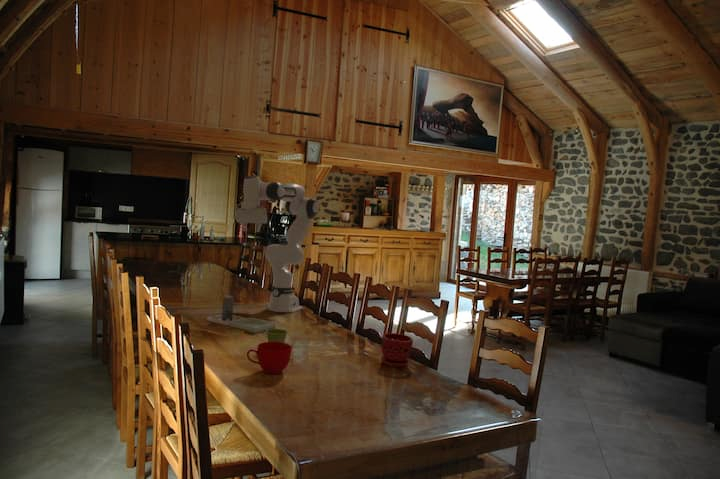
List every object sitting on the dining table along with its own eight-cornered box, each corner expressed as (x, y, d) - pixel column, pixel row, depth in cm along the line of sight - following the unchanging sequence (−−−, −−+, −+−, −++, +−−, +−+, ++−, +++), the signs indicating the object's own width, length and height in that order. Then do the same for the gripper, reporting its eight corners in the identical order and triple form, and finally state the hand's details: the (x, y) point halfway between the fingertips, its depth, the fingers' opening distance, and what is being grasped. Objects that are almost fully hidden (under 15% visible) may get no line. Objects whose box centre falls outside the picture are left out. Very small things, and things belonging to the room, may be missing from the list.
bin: (250, 323, 286) (250, 317, 286) (274, 328, 279) (275, 322, 279) (229, 328, 272) (230, 322, 272) (255, 333, 265) (255, 327, 264)
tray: (225, 318, 293) (226, 312, 292) (246, 322, 286) (246, 316, 286) (207, 322, 280) (207, 315, 280) (227, 327, 274) (228, 320, 274)
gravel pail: (226, 319, 287) (227, 293, 286) (234, 320, 284) (236, 295, 283) (219, 320, 282) (220, 295, 281) (227, 322, 279) (228, 296, 279)
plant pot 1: (284, 354, 233) (285, 334, 233) (262, 353, 233) (264, 333, 233) (287, 349, 243) (289, 329, 242) (266, 347, 243) (268, 328, 242)
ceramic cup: (243, 367, 212) (244, 342, 211) (285, 365, 218) (287, 341, 217) (248, 378, 200) (250, 351, 199) (293, 376, 206) (295, 350, 205)
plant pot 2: (385, 369, 224) (387, 340, 223) (376, 359, 237) (378, 332, 236) (415, 368, 228) (417, 340, 227) (404, 359, 240) (406, 332, 239)
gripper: (270, 206, 290) (269, 232, 291) (242, 205, 301) (241, 230, 302) (262, 206, 285) (261, 232, 286) (233, 205, 296) (233, 230, 296)
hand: (251, 231), depth 294 cm, fingers open, 8 cm apart
